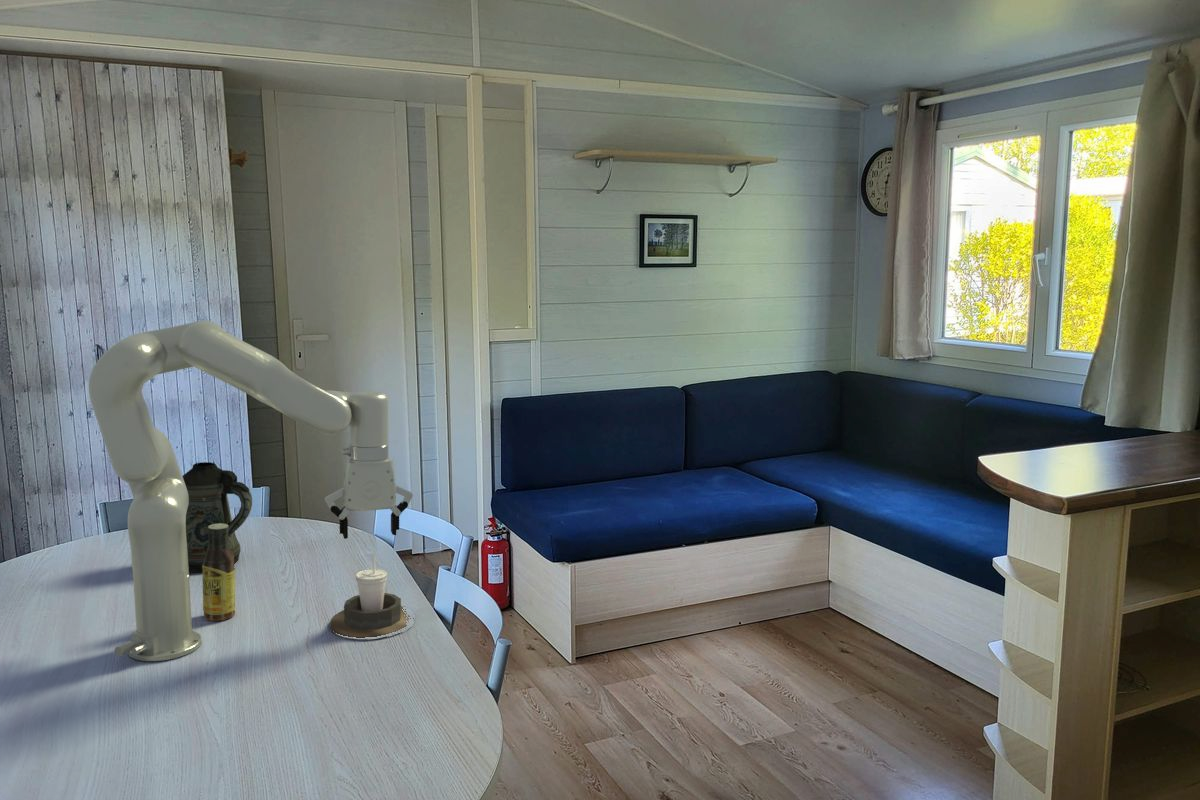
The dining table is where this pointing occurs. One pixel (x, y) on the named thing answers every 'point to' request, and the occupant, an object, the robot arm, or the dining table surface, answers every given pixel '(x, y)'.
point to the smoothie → (371, 587)
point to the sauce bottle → (218, 575)
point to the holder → (369, 618)
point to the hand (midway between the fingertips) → (369, 535)
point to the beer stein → (212, 509)
